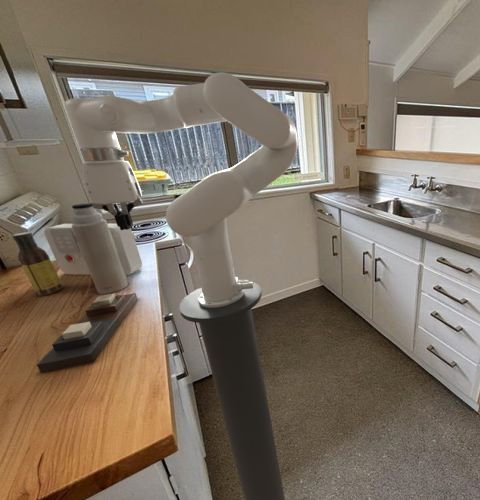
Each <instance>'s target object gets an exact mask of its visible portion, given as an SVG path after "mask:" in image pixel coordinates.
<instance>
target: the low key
mask: <svg viewBox="0 0 480 500" xmlns="http://www.w3.org/2000/svg"><path fill="white" fill-rule="evenodd" d="M115 296H116V295H115V293H109V294H104V295H103V294H102V295H99V296H98V297H97V298H95V299H94V301H93V302H92V303H93V305H94V307H99V306H105V305H111V304H112V303H113V302H114V301H115V300H116V297H115Z"/></svg>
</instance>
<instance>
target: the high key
mask: <svg viewBox="0 0 480 500" xmlns="http://www.w3.org/2000/svg"><path fill="white" fill-rule="evenodd" d="M91 328H92V326H91V324H90V322H85V323H79V324H76V323H74V324H70V325H69V326H68V327H67V328H66V329H65V330H64V331H63V332H62V333H61V335H63V338H64V340H65V339H70V338H76V337H81V336H85V335H86V334H87V333H88V331H89V330H90V329H91Z"/></svg>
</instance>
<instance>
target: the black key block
mask: <svg viewBox="0 0 480 500" xmlns="http://www.w3.org/2000/svg"><path fill="white" fill-rule="evenodd" d="M90 324H91V326H92V328H91V329H90V330H89V331H88V333H87V334H86V335H85V336H81V337H76V338H70V339H65V340H64V338H63V335H62V334H60V336H59V337H58V338H57V339H56V340H55V341H54V342H53V343H52V344H51V346H52V348H51V349H50V350H49V351H48V352H47V353H46V354H45V355H44V356H43V357H42V358H41V359H40V360H39V362H38V363H36V368H38V369H37V370H38V371H39V373H40V374H43V373H49V372H53V371H58V370H62V369H66V368H72V367H76V366H81V365H86V364H90V363H94V362H95V360H96V359H97V358H98V357H99V355H100V354H101V352H102V350H103V349H104V348H105V347H106V345H107V343H108V342H109V341H110V340H111V338H112V336H113V335H114V334H115V332H116V331H117V330H118V328H119V327H120V325H119V323H118V321H117V318H116V319H110V320H105V321H99V322H93V323H90Z"/></svg>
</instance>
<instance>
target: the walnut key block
mask: <svg viewBox="0 0 480 500" xmlns="http://www.w3.org/2000/svg"><path fill="white" fill-rule="evenodd" d="M115 297H116V300H115V301H114V302H113V303H112V304H111V305H105V306H99V307H94V305H93V302H92V303H91V304H90V305H89V306H88V307H87V308H86V309H85V310H84V314H83V315H82V316H81V317H80V319H78V321H77V322H76V323H75V324H79V323H85V322H90V323H93V322H99V321H105V320H110V319H116V318H117V321H118V323H119V326H120V325H121V324H122V322H123V321H124V320H125V319H126V316H127V315H128V314H129V312H130V311H131V309H132V308H133V306H134V305H135V304H136V302H137V301H138V297H137V293H136V292H134V293H133V292H132V293H127V294H118V295H115Z"/></svg>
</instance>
